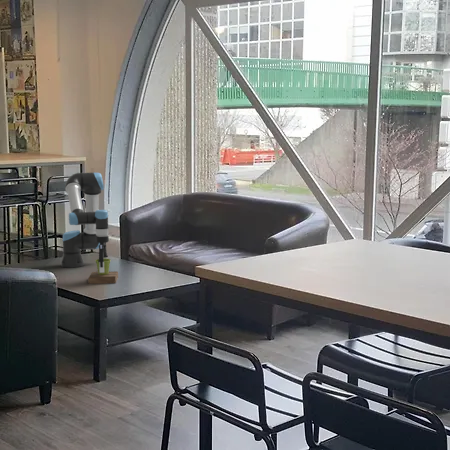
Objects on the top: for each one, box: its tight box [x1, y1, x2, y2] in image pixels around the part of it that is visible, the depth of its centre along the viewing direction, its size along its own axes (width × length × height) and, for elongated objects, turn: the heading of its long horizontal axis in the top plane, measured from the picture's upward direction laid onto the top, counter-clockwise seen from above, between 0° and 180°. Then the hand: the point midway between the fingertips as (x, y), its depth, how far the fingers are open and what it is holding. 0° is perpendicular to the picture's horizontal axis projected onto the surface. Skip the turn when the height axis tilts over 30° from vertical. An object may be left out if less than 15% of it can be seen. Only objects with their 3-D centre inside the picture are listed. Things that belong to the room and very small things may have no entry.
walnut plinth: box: [88, 270, 119, 285], centre depth 428 cm, size 16×16×4 cm
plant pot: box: [94, 258, 112, 275], centre depth 427 cm, size 9×9×9 cm
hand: (103, 270), depth 427 cm, fingers open, 13 cm apart
